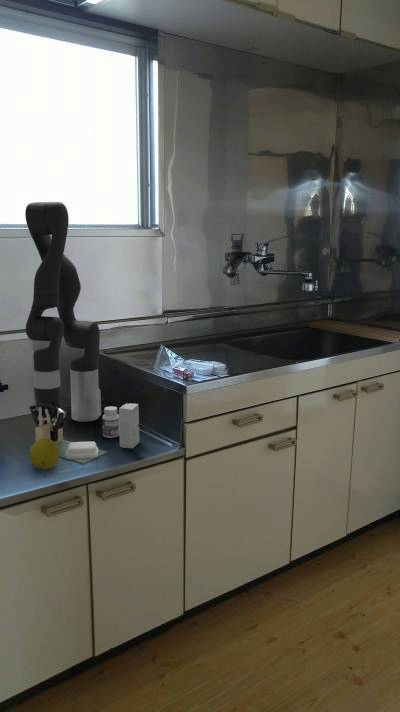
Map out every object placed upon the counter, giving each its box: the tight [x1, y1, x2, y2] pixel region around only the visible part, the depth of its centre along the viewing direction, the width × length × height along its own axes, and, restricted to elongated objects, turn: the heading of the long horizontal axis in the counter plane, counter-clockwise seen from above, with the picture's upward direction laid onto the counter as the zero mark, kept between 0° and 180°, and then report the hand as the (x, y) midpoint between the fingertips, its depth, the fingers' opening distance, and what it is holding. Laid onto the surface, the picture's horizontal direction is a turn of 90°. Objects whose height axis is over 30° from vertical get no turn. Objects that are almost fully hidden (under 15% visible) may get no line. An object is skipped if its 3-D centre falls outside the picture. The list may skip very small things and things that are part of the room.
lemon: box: [29, 438, 60, 471], centre depth 161 cm, size 11×8×8 cm
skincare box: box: [118, 402, 140, 449], centre depth 178 cm, size 6×4×12 cm
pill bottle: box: [101, 406, 120, 439], centre depth 186 cm, size 5×5×9 cm
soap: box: [66, 441, 99, 460], centre depth 171 cm, size 9×7×3 cm
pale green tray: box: [34, 423, 108, 465], centre depth 173 cm, size 10×20×6 cm, turn 58°
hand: (49, 440), depth 177 cm, fingers closed on pale green tray, 3 cm apart
